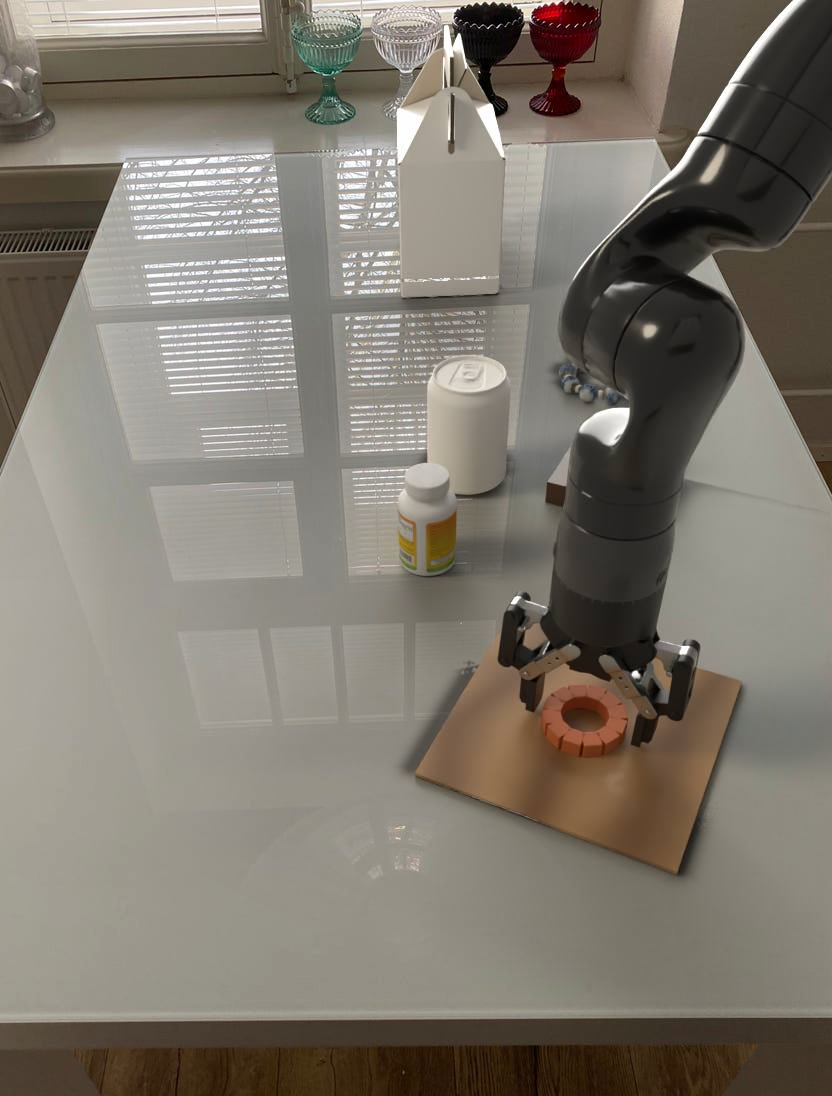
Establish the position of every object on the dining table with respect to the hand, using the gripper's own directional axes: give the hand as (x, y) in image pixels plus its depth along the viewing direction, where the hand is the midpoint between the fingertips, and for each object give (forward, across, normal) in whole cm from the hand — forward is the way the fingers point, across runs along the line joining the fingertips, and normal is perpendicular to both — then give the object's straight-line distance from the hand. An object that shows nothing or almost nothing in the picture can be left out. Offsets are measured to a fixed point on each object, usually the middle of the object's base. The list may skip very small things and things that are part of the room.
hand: (584, 721), depth 78 cm
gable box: (+1, +45, -75) cm, 88 cm away
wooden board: (+1, 0, 0) cm, 1 cm away
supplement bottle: (+1, +20, -14) cm, 24 cm away
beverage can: (+1, +22, -28) cm, 36 cm away
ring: (0, 0, 0) cm, 0 cm away
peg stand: (+1, +8, -32) cm, 33 cm away
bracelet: (+1, +15, -51) cm, 53 cm away
